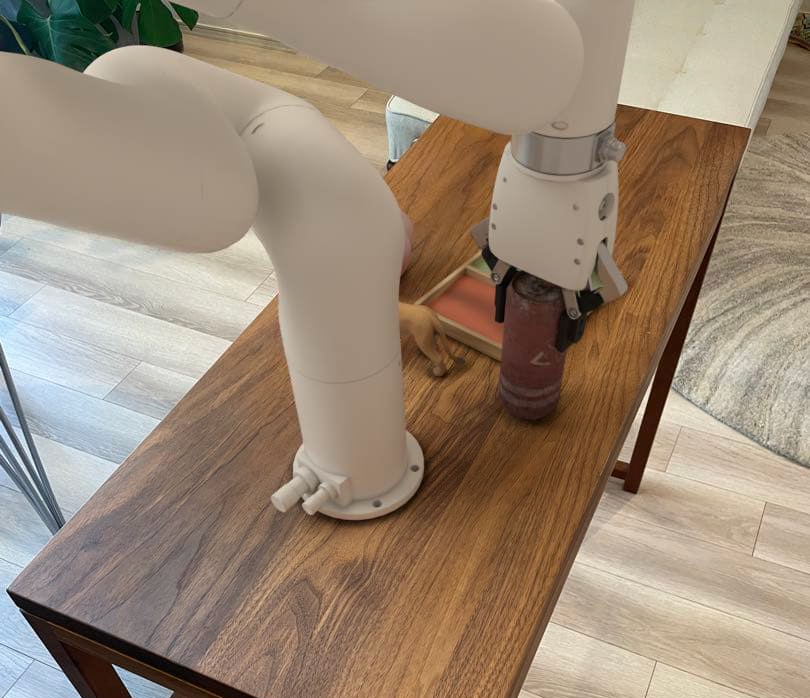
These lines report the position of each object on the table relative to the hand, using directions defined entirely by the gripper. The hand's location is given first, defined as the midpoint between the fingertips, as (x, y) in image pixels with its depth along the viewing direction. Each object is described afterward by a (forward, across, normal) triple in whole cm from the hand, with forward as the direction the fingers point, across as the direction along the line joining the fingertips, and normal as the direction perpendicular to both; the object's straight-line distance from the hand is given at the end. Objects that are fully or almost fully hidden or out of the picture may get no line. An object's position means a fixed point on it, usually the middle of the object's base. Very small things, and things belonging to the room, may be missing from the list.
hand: (537, 328), depth 77 cm
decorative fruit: (+10, +26, -7) cm, 28 cm away
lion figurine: (+10, +16, +2) cm, 19 cm away
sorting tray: (+9, +10, -13) cm, 19 cm away
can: (+9, 0, 0) cm, 9 cm away
